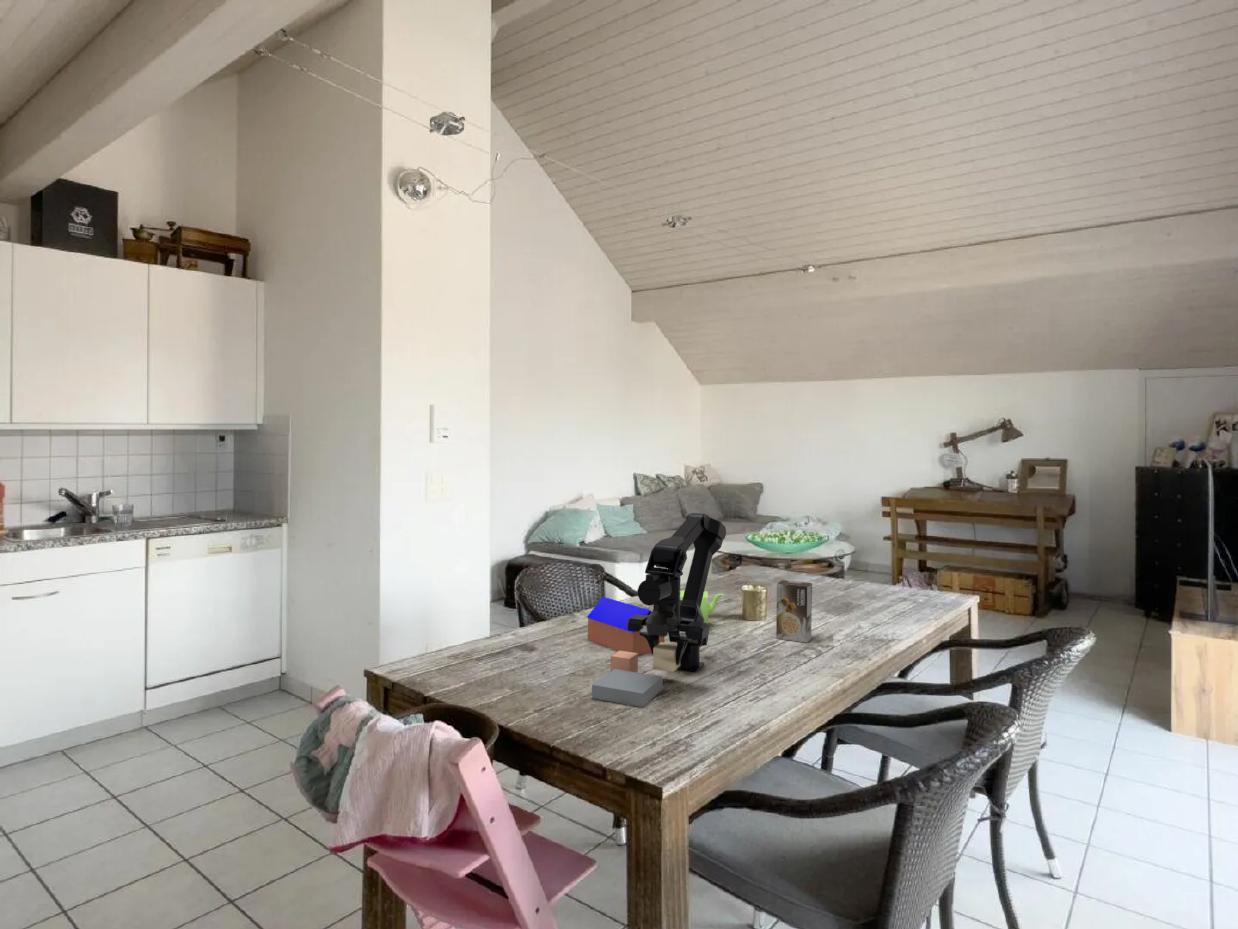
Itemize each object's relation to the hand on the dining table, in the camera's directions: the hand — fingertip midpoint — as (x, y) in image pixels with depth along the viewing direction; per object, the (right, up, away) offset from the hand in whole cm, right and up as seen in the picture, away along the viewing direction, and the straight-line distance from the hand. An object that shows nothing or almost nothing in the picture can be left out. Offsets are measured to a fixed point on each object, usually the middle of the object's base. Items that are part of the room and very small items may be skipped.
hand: (666, 663), depth 170 cm
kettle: (+11, -3, +51) cm, 52 cm away
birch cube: (0, -1, 0) cm, 1 cm away
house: (-9, -4, +30) cm, 32 cm away
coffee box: (+39, -4, +38) cm, 55 cm away
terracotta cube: (-10, -4, +5) cm, 12 cm away
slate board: (-9, -5, -8) cm, 13 cm away
